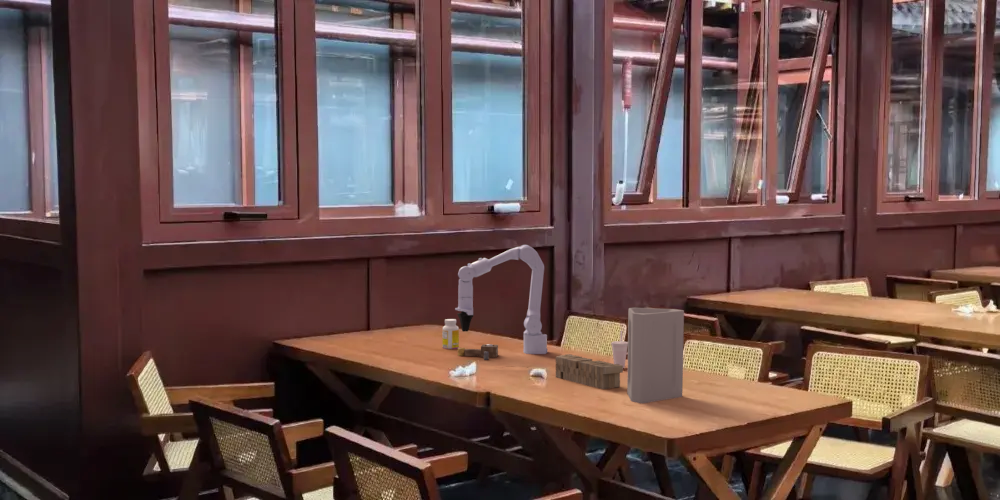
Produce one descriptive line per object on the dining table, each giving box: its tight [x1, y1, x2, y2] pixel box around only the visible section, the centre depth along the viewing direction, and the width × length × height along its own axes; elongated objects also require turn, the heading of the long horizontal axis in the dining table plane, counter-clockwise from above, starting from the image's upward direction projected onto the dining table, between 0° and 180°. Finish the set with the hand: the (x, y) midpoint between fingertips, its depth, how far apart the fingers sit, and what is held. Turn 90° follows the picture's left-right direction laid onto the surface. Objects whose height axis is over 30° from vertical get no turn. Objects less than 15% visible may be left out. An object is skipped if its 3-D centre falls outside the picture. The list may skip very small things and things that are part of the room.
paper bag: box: [626, 307, 685, 404], centre depth 344 cm, size 19×15×28 cm
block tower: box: [555, 353, 624, 390], centre depth 368 cm, size 8×8×29 cm
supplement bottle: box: [441, 318, 460, 350], centre depth 433 cm, size 7×7×13 cm
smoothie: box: [610, 330, 628, 369], centre depth 396 cm, size 6×6×14 cm
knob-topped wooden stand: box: [457, 344, 499, 358], centre depth 413 cm, size 15×6×4 cm, turn 84°
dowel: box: [483, 351, 490, 361], centre depth 404 cm, size 2×2×4 cm
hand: (465, 331), depth 419 cm, fingers closed
